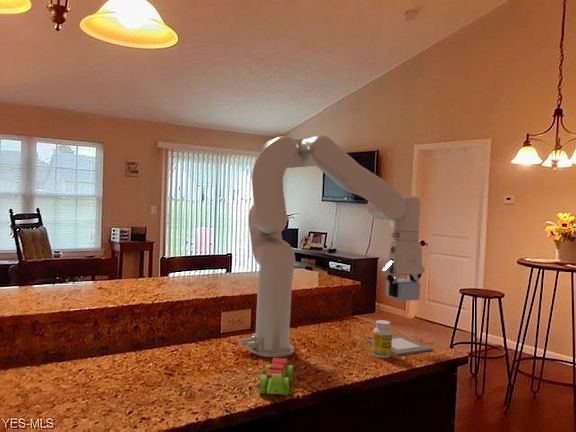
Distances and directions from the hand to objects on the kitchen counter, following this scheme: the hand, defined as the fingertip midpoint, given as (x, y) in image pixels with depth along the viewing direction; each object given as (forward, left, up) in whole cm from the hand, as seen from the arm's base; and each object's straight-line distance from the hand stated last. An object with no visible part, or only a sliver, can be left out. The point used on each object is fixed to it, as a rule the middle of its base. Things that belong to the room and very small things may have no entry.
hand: (402, 294), depth 146 cm
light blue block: (0, 0, -1) cm, 1 cm away
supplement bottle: (-11, -5, -16) cm, 20 cm away
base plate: (0, 0, -16) cm, 16 cm away
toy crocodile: (-49, -14, -16) cm, 54 cm away
